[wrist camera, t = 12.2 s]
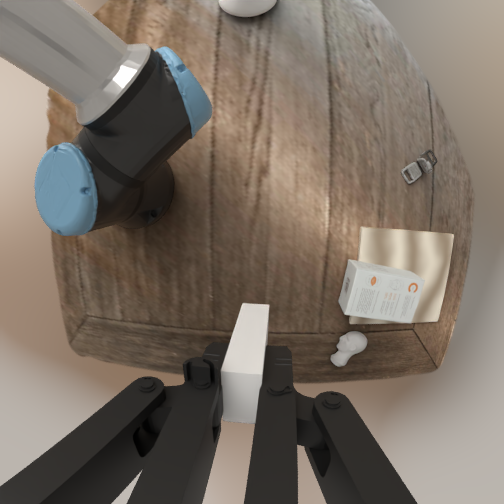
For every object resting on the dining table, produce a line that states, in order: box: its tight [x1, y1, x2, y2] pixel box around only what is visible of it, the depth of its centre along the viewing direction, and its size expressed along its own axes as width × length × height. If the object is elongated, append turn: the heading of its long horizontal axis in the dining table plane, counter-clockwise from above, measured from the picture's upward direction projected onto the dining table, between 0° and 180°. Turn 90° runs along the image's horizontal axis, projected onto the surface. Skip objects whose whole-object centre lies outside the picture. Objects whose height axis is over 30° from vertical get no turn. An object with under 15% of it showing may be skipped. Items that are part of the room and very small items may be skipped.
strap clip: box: [401, 150, 437, 184], centre depth 43 cm, size 8×3×4 cm, turn 127°
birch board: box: [349, 227, 454, 324], centre depth 48 cm, size 20×18×1 cm
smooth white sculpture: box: [331, 331, 367, 367], centre depth 51 cm, size 4×8×5 cm
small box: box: [338, 260, 425, 323], centre depth 45 cm, size 8×6×13 cm
